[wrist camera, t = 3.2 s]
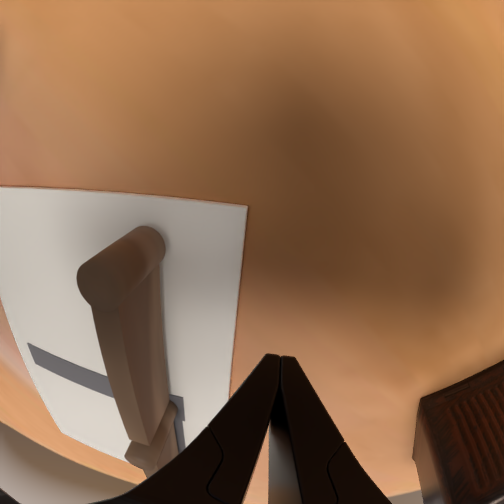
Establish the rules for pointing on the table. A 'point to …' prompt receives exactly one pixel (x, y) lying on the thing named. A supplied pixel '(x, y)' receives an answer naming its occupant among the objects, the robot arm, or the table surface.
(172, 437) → the bar
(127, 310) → the fence loose
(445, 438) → the brown coffee grinder
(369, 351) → the table surface
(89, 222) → the card
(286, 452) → the robot arm
